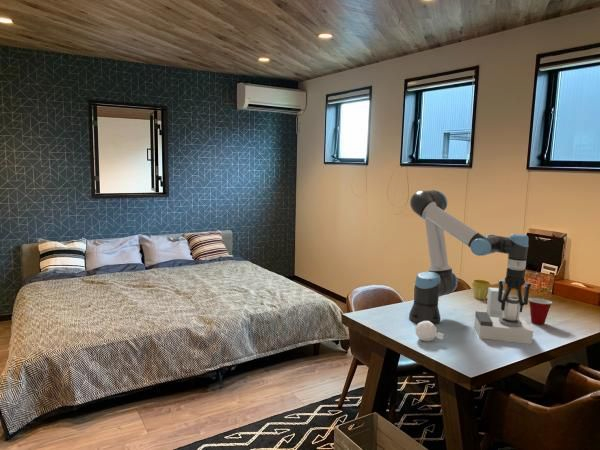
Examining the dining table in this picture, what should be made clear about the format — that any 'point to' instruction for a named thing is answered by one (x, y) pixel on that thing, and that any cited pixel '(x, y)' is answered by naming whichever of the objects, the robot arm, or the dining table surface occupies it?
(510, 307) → the lens
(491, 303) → the skincare box
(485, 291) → the plant pot
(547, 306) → the plastic cup
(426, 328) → the perfume bottle
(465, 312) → the dining table surface
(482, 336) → the camera body
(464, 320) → the dining table surface
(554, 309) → the dining table surface
